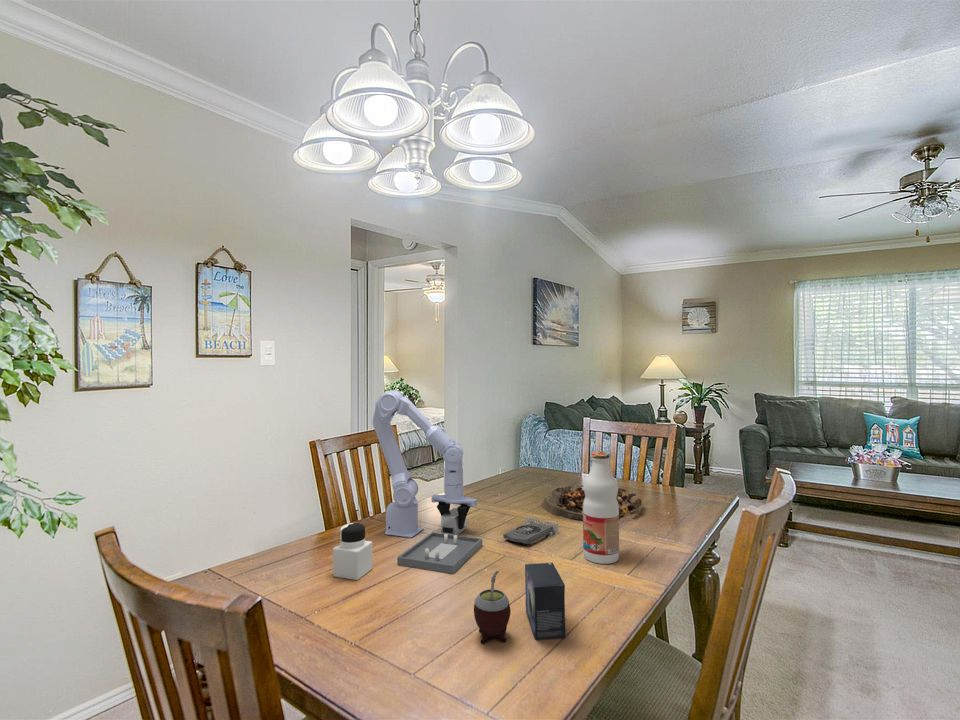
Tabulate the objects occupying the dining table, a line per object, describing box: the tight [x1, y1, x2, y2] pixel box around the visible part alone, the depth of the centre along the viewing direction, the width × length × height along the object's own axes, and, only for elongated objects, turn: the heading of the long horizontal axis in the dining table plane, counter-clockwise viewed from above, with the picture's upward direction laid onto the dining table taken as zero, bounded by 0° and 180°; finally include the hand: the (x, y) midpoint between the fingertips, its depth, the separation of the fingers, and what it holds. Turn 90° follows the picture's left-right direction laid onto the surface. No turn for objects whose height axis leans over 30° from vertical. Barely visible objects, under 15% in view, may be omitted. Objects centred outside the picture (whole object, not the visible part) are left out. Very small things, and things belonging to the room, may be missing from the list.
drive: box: [440, 507, 467, 536], centre depth 154 cm, size 4×9×6 cm, turn 158°
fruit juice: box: [582, 451, 620, 565], centre depth 133 cm, size 9×9×28 cm
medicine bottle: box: [332, 522, 373, 581], centre depth 125 cm, size 7×7×12 cm
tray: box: [396, 531, 483, 575], centre depth 136 cm, size 16×20×4 cm
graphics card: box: [502, 516, 559, 546], centre depth 150 cm, size 17×4×12 cm
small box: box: [524, 562, 567, 641], centre depth 100 cm, size 11×6×10 cm, turn 5°
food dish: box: [540, 485, 643, 521], centre depth 178 cm, size 35×33×8 cm
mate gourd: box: [473, 570, 511, 645], centre depth 96 cm, size 8×8×15 cm
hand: (454, 527), depth 154 cm, fingers closed on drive, 4 cm apart
